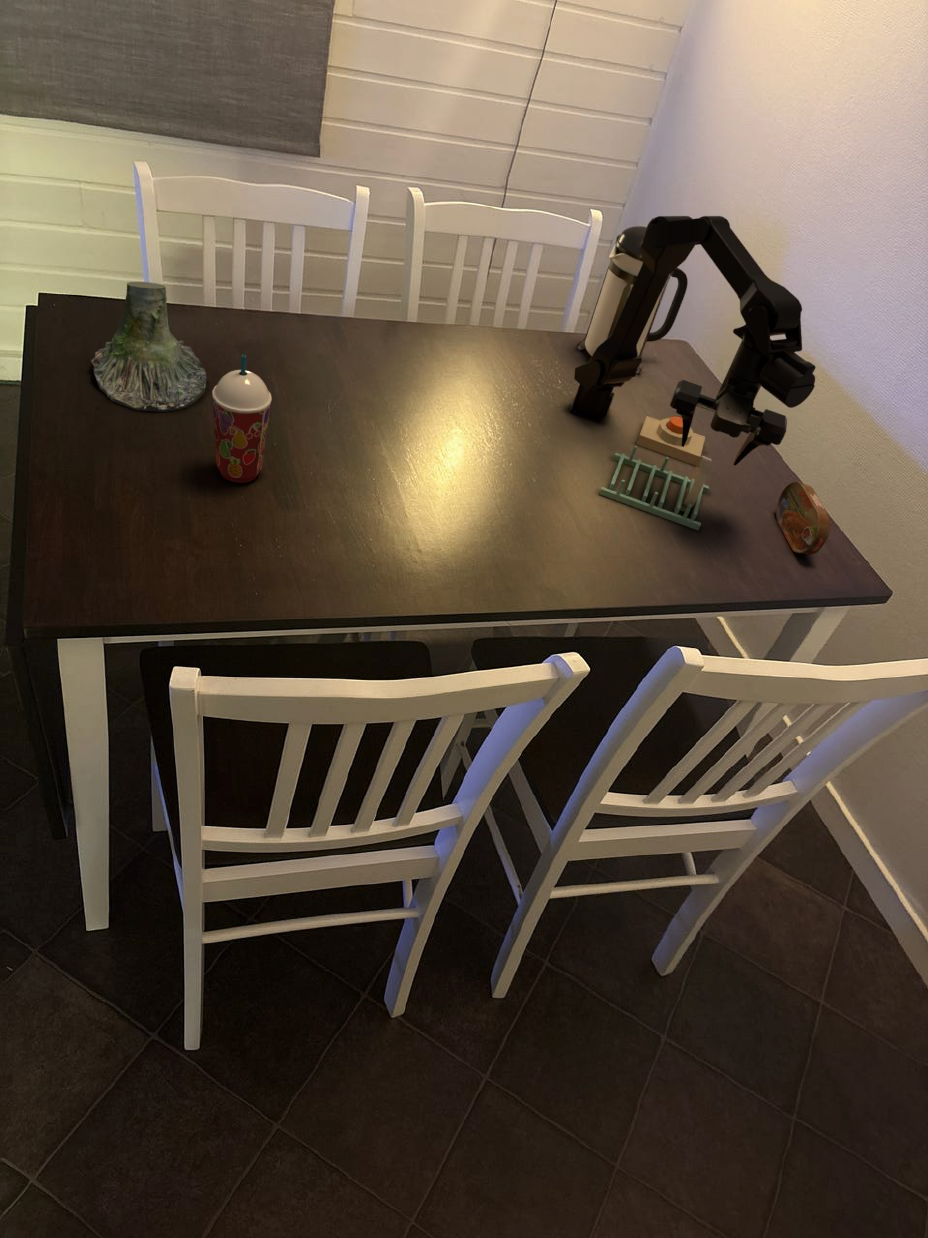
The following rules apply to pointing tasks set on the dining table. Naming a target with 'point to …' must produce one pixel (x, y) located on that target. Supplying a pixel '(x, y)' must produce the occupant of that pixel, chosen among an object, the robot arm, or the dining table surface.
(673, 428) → the button
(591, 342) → the coffee press
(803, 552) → the tin
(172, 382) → the tree stump
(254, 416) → the smoothie
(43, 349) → the dining table surface
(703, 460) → the plate
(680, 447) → the panel
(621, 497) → the rack
